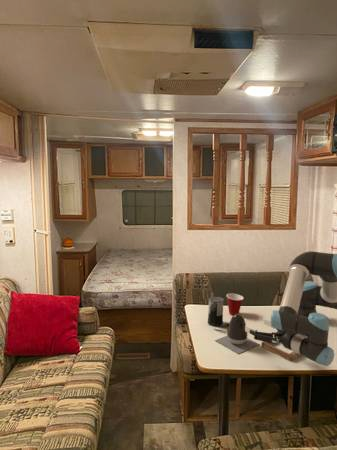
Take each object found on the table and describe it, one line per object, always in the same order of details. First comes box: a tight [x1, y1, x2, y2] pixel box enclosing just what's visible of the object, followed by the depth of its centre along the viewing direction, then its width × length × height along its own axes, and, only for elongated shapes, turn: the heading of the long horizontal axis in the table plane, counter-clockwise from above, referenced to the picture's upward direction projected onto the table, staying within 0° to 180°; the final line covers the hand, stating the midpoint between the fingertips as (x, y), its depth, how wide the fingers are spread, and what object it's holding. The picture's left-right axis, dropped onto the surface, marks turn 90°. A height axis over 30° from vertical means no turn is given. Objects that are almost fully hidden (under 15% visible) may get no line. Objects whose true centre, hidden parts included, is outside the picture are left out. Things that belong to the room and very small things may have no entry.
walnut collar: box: [261, 341, 301, 362], centre depth 158 cm, size 16×16×2 cm
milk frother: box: [207, 296, 229, 327], centre depth 183 cm, size 14×16×15 cm
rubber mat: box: [214, 335, 260, 355], centre depth 163 cm, size 16×16×1 cm
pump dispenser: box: [226, 313, 248, 345], centre depth 162 cm, size 10×10×15 cm
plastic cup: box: [226, 293, 244, 317], centre depth 199 cm, size 11×11×12 cm
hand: (254, 324), depth 153 cm, fingers open, 13 cm apart
